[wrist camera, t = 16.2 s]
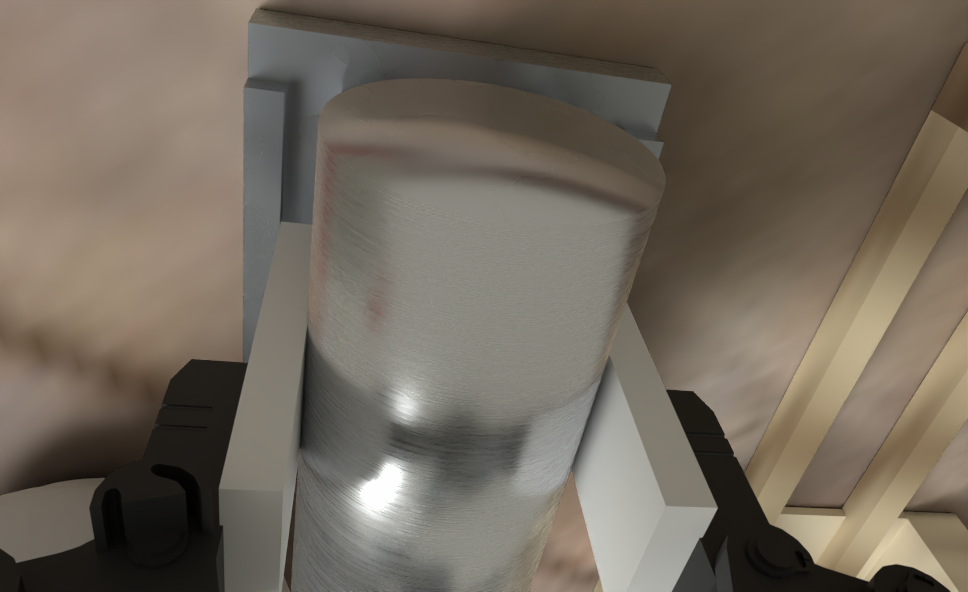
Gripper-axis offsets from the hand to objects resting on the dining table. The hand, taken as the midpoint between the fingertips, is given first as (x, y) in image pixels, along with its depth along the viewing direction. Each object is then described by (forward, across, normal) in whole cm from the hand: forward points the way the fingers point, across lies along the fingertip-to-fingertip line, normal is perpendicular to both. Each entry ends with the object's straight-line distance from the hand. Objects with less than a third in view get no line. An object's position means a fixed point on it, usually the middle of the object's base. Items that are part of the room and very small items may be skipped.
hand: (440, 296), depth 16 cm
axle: (0, 0, +1) cm, 1 cm away
